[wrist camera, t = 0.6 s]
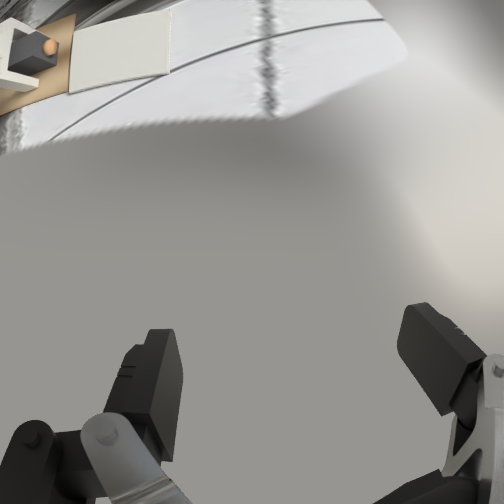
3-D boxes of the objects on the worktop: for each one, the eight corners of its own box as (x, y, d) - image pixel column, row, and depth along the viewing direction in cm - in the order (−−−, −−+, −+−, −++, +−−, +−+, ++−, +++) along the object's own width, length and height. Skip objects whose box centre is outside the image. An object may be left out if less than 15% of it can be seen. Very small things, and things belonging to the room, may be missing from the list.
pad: (76, 33, 25) (74, 32, 24) (171, 11, 26) (170, 9, 25) (71, 93, 28) (68, 92, 27) (169, 74, 29) (168, 72, 28)
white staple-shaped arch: (31, 39, 23) (-17, 19, 12) (44, 34, 23) (-3, 10, 13) (25, 92, 26) (-30, 83, 15) (38, 87, 26) (-17, 75, 15)
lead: (16, 61, 24) (-9, 53, 18) (65, 40, 25) (42, 27, 19) (14, 82, 25) (-12, 77, 20) (62, 63, 26) (38, 52, 20)
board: (-13, 56, 23) (-14, 55, 22) (76, 14, 24) (75, 13, 23) (-19, 124, 26) (-21, 124, 26) (68, 91, 28) (67, 90, 27)
